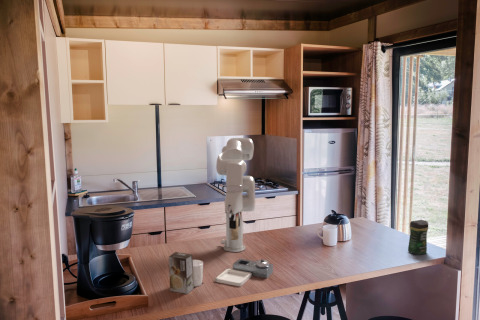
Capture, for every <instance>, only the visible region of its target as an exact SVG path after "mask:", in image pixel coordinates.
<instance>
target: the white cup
mask: <svg viewBox="0 0 480 320" xmlns="http://www.w3.org/2000/svg"><path fill="white" fill-rule="evenodd" d="M203 271H204V261H203V260H200V259H193V288H194V287H199V286H201V285H202V284H203V274H204V272H203Z"/></svg>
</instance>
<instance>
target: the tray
mask: <svg viewBox="0 0 480 320" xmlns="http://www.w3.org/2000/svg"><path fill="white" fill-rule="evenodd" d="M252 277H253V276H252V273H250V272H244V271H239V270H234V269H233V268H226V269H225V270H224V271H222V272H221V273H220V274H219V275H218V276H216V277H215V278H214V282H216V283H219V284H220V283H221V284H225V285H228V286H229V285H230V286H231V285H232V286H236V287H240V288H241V287H242V286H243V285H244V284H245V283H246V282H247V281H248V280H249V279H251V278H252Z"/></svg>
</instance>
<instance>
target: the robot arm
mask: <svg viewBox="0 0 480 320" xmlns="http://www.w3.org/2000/svg"><path fill="white" fill-rule="evenodd" d="M254 148H255V145H254V142H253V140H252V138H249V137H232V138H230V139H228V140H227V142H226V144H225V146H223V147H222V149H221V153H219V155H218V156H217V158H216V166H215V169H216V170H215V171H216V172H217V174H218V175H219V176H225V177H226V180H225V181H226V182H225V183H226V184H225V187H226V190H225V191H226V193H225V199H224V201H223V203H224V213H225V229H226V230H225V236H226V237H225V238H226V239H220V244H221V245H223V250H224V251H225V252H230V253H238V252H243V251H245V250H246V245H245V244H243V243H244V242H243V241H244V238H243V237H244V235H243V234H244V232H243V231H244V230H243V228H244V227H243V226H244V223H243V221H244V220H243V216H242V215H241V213H243V212H244V213H245V212H253V211H255V208H256V182H255V178H254V177H253V176H251V175H244V174H245V173H246V172H247V163H246V162H245V161H251V160H252V159H253V156H254V151H255V149H254ZM243 193H246V194H243ZM236 213H238V240H231V229H236V220H235V215H236ZM232 215H233V216H232Z"/></svg>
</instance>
